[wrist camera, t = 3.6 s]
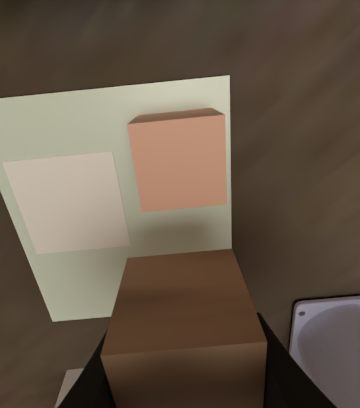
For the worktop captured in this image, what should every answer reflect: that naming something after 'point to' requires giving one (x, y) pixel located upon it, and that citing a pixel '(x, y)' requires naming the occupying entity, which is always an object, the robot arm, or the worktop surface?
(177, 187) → the terracotta block
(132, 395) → the walnut cube
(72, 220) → the baseplate
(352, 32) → the worktop surface
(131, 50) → the worktop surface
